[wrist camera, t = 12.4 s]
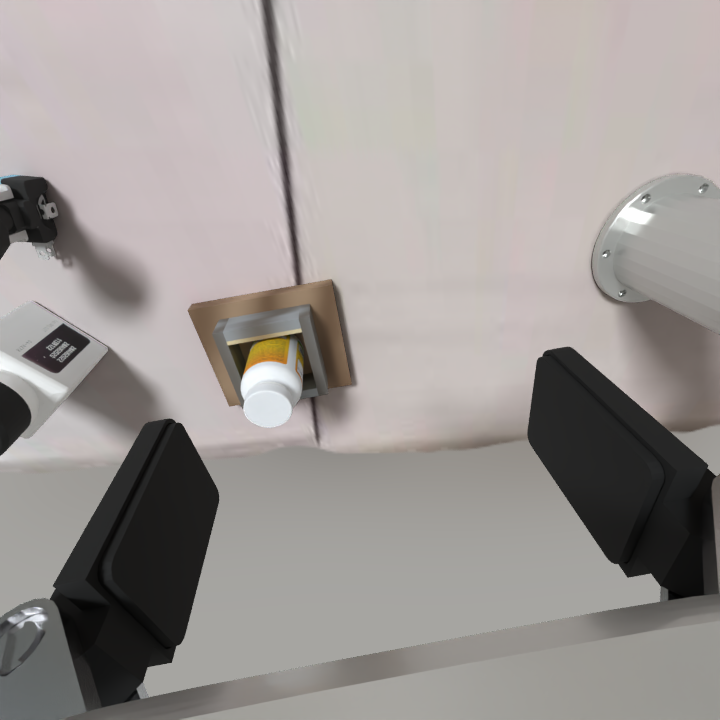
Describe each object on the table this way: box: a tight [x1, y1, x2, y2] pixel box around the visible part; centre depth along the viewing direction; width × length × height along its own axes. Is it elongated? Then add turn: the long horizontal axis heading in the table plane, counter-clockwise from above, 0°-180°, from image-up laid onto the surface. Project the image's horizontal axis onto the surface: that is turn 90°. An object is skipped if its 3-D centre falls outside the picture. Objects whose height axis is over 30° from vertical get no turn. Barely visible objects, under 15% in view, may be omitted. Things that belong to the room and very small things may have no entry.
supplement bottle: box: [241, 334, 304, 428], centre depth 35 cm, size 5×5×10 cm
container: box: [0, 301, 108, 455], centre depth 32 cm, size 8×8×13 cm
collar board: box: [188, 280, 352, 409], centre depth 38 cm, size 14×12×4 cm
